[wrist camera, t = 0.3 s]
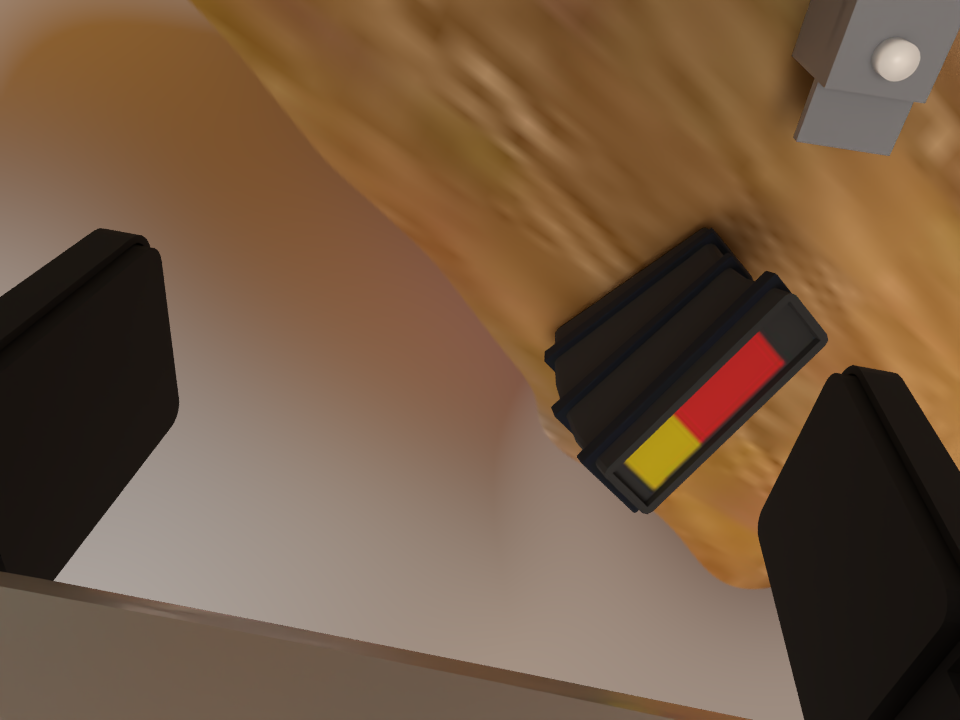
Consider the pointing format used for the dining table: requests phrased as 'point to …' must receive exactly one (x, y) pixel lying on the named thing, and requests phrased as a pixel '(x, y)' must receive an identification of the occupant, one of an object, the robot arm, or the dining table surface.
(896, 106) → the servo
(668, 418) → the black ridged block
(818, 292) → the dining table surface
